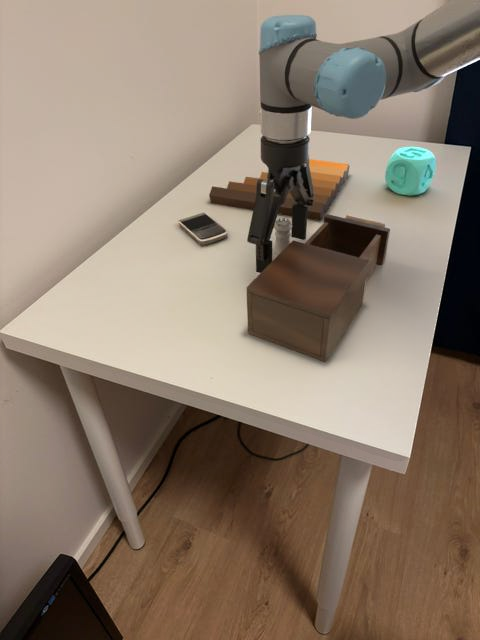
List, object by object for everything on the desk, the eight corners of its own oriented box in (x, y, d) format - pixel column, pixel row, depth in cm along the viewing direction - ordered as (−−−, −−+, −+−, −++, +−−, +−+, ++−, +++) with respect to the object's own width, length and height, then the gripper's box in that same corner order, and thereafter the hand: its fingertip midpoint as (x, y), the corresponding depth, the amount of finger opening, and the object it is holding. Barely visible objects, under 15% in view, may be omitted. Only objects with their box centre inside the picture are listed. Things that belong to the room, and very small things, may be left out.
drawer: (334, 235, 93) (337, 202, 89) (393, 249, 88) (399, 215, 84) (291, 284, 81) (292, 249, 77) (356, 304, 76) (361, 268, 72)
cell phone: (202, 248, 93) (201, 241, 92) (176, 225, 100) (176, 219, 99) (229, 238, 95) (229, 232, 94) (203, 216, 102) (202, 210, 101)
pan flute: (209, 204, 107) (319, 222, 99) (208, 189, 105) (321, 207, 97) (252, 162, 124) (348, 174, 116) (251, 149, 122) (350, 161, 114)
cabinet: (291, 283, 83) (292, 239, 77) (362, 305, 77) (369, 260, 72) (247, 333, 73) (246, 287, 68) (325, 362, 68) (330, 314, 62)
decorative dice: (431, 186, 110) (439, 151, 104) (415, 199, 105) (423, 163, 100) (399, 177, 114) (405, 143, 109) (382, 189, 109) (387, 154, 104)
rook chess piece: (266, 265, 87) (266, 225, 82) (274, 252, 90) (274, 213, 85) (290, 269, 86) (291, 229, 81) (297, 256, 89) (299, 217, 84)
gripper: (298, 109, 83) (294, 220, 97) (220, 159, 67) (228, 283, 81) (339, 115, 80) (328, 229, 94) (267, 168, 64) (267, 296, 78)
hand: (282, 254), depth 87 cm, fingers open, 13 cm apart
